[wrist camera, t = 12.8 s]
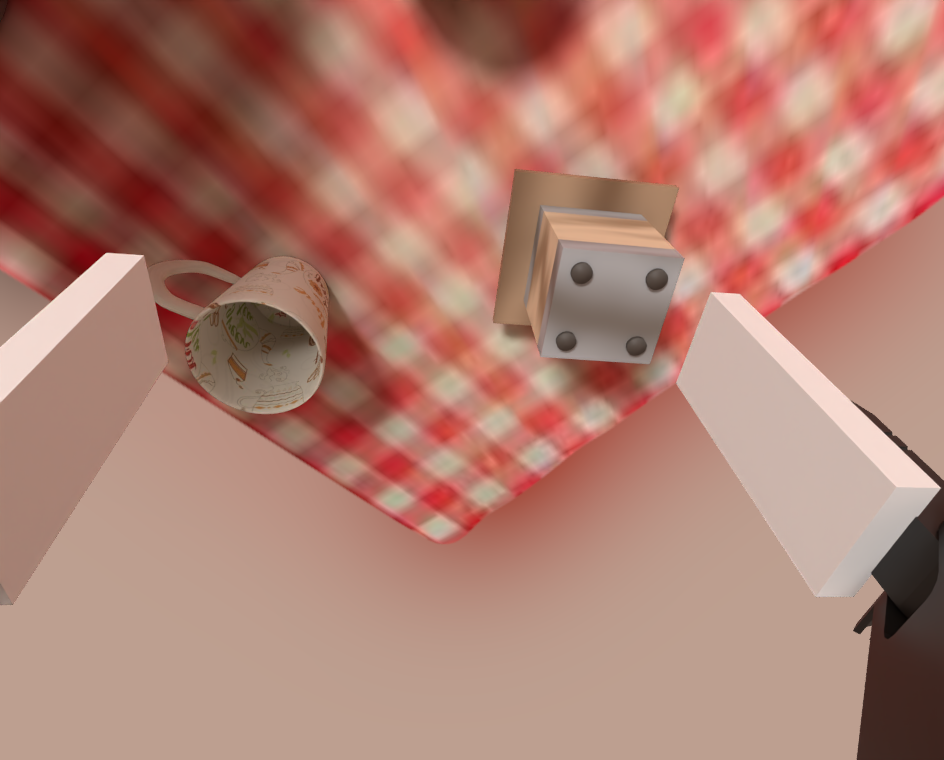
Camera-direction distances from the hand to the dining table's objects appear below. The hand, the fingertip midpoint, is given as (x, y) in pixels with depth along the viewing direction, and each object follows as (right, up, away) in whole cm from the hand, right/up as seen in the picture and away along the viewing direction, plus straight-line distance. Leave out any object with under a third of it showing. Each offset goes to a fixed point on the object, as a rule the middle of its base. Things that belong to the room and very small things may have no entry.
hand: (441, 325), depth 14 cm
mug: (-15, +6, +29) cm, 34 cm away
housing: (+8, +7, +27) cm, 29 cm away
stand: (+8, +9, +29) cm, 31 cm away
